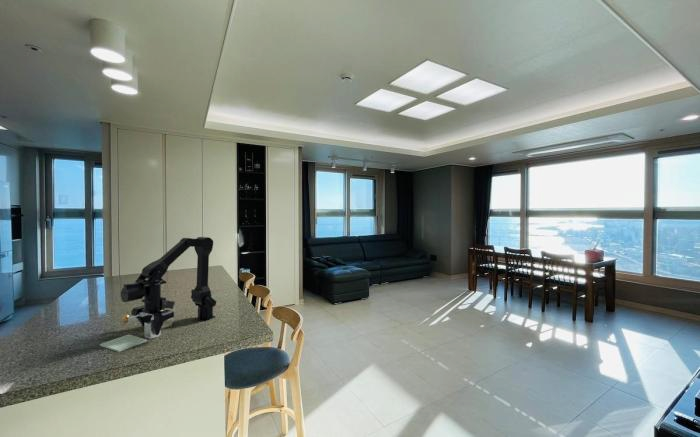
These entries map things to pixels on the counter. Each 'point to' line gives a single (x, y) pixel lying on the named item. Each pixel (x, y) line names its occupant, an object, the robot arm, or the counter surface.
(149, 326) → the grey rectangular block
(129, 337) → the mat
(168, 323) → the base
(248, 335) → the counter surface
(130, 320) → the crank handle
